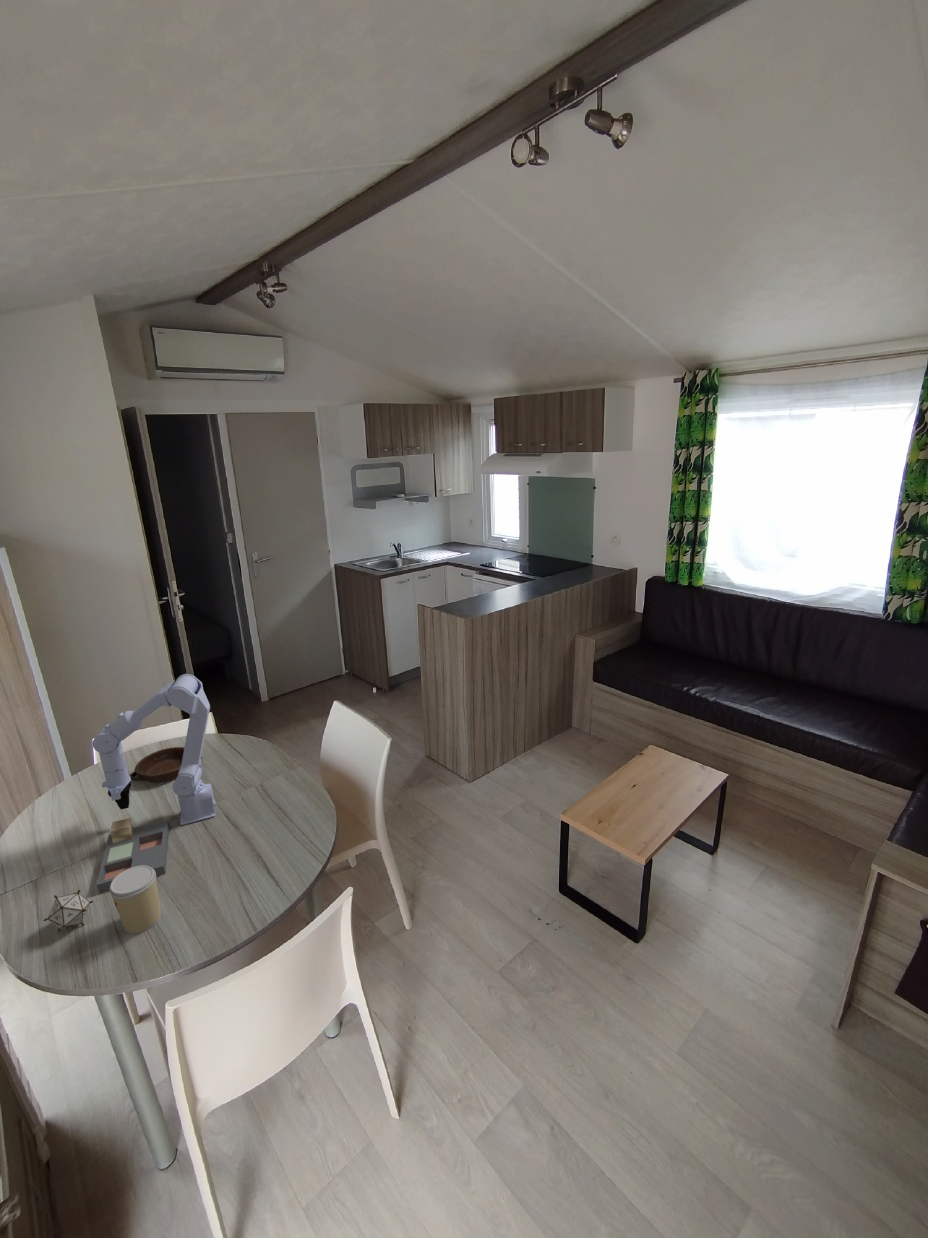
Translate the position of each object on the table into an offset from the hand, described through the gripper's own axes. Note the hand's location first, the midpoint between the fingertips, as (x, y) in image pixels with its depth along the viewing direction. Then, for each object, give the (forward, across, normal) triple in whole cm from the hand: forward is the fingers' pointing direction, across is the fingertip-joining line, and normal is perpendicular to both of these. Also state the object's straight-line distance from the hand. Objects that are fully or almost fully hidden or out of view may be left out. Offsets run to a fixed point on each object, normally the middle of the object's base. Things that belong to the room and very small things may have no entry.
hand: (124, 807), depth 165 cm
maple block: (+3, +10, 0) cm, 10 cm away
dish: (+6, -26, +9) cm, 28 cm away
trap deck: (+6, +17, +4) cm, 18 cm away
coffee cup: (+6, +42, +7) cm, 43 cm away
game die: (+6, +36, -8) cm, 37 cm away
